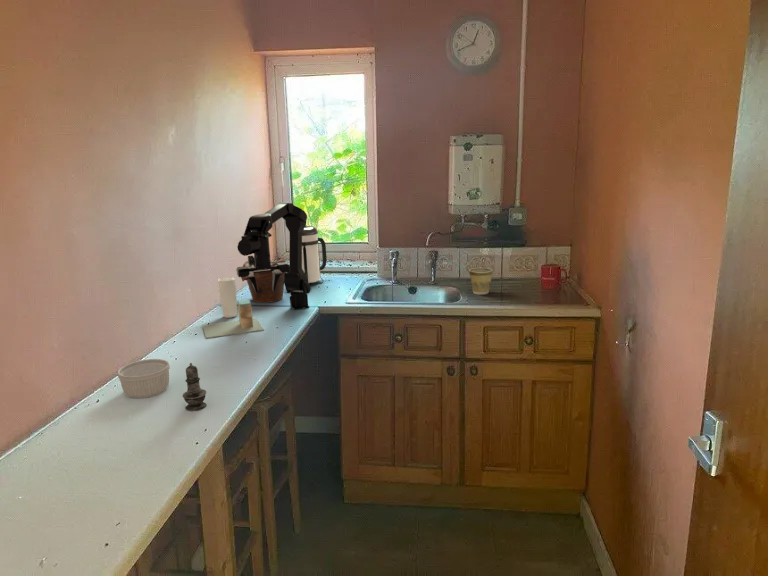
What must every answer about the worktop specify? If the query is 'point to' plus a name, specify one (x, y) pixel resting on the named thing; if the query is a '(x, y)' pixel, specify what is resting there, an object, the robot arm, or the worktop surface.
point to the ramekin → (144, 378)
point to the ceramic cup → (480, 280)
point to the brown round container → (266, 285)
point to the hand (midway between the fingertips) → (265, 292)
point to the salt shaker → (194, 390)
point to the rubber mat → (230, 328)
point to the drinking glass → (228, 296)
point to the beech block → (245, 313)
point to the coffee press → (312, 254)
